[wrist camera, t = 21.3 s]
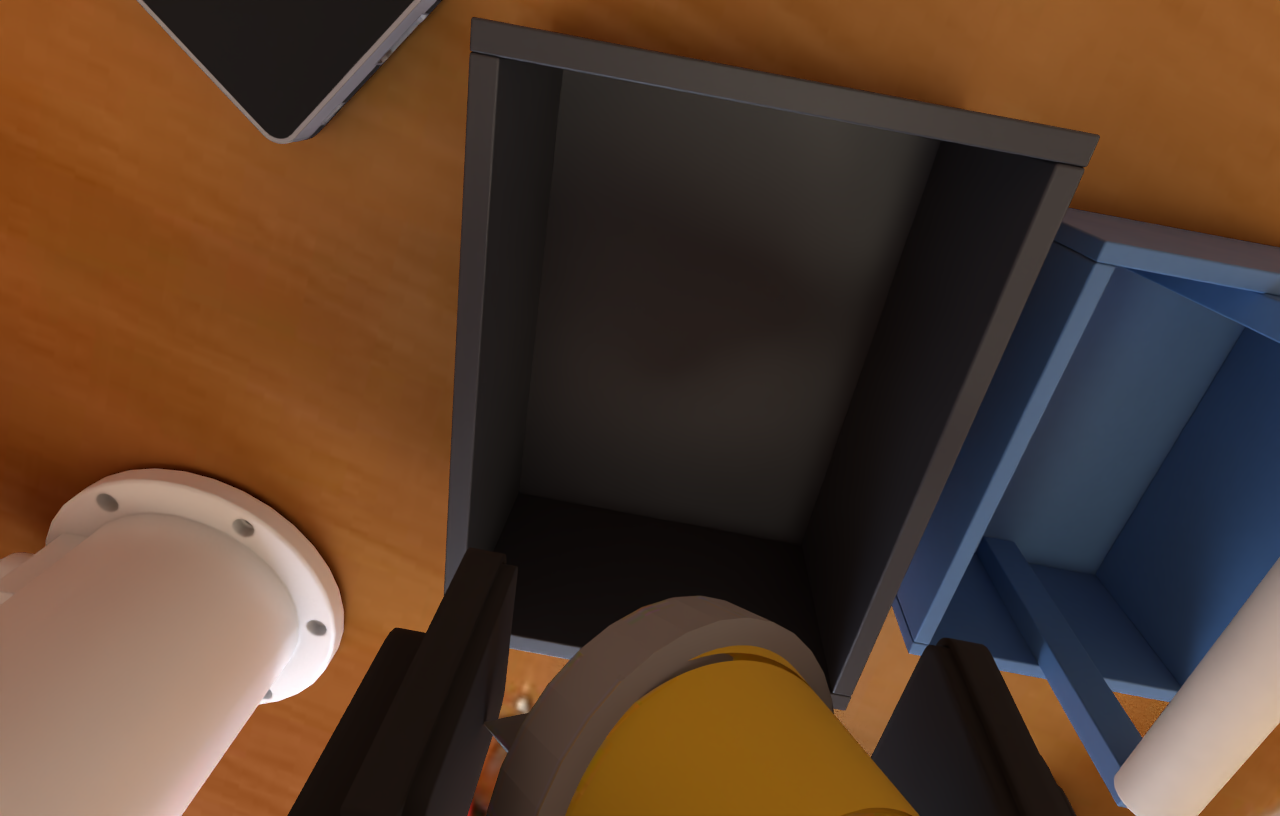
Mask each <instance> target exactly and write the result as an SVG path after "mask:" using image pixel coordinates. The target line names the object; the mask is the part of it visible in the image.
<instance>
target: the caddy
mask: <svg viewBox="0 0 1280 816" xmlns="http://www.w3.org/2000/svg"><path fill="white" fill-rule="evenodd" d="M892 607H893V610H894V613H895V616H896V619H897V622H898V625H899V627H900V630H901V633H902V636H903V639H904V642H905V645H906V647H907V650H908V653H910V654H914V655H920V656H921V655H922V653H923V651H924V650H925V648H926V647H927V646H928V645H935V646H936V644H937V643H938V641H939V640H940V639H942V638H952V639H957V640H963V641H968V642H973V643H978V644H983V645H984V646H986V647H987V648H988V650H989V651H990V653H991V654H992V656H993V658H994V661H995V663H996V665H997V667H998V669H999V670H1000V671H1006V672H1011V673H1017V674H1022V675H1027V676H1033V677H1038V678H1043V679H1047V681H1048V682H1049V684H1050V686H1051V688H1052V690H1053V691H1054V693H1055V695H1056V697H1057V699H1058V700H1059V702H1060V704H1061V706H1062V707H1063V709H1064V711H1065V713H1066V715H1067V716H1068V718H1069V720H1070V722H1071V724H1072V725H1073V727H1074V729H1075V731H1076V733H1077V734H1078V736H1079V738H1080V740H1081V741H1082V743H1083V745H1084V747H1085V749H1086V750H1087V752H1088V754H1089V756H1090V758H1091V759H1092V761H1093V763H1094V765H1095V766H1096V768H1097V770H1098V772H1099V774H1100V775H1101V777H1102V779H1103V781H1104V783H1105V784H1106V786H1107V788H1108V790H1109V791H1110V793H1111V795H1112V797H1113V799H1114V800H1115V802H1116V804H1117V805H1118V806H1119V807H1125V808H1128V809H1129V810H1130V811H1131V812H1132V813H1134V814H1135V815H1136V816H1198V815H1199V814H1200V813H1201V811H1202V810H1203V809H1204V808H1205V807H1206V806H1207V805H1208V803H1209V802H1210V801H1211V800H1212V799H1213V798H1214V797H1215V796H1216V794H1217V793H1218V792H1219V791H1220V790H1221V789H1222V788H1223V786H1224V785H1225V784H1226V783H1227V782H1228V781H1229V780H1230V778H1231V777H1232V776H1233V775H1234V774H1235V773H1236V772H1237V770H1238V769H1239V768H1240V767H1241V766H1242V765H1243V764H1244V763H1245V761H1246V760H1247V759H1248V758H1249V757H1250V756H1251V755H1252V753H1253V752H1254V751H1255V750H1256V749H1257V748H1258V747H1259V745H1260V744H1261V743H1262V742H1263V741H1264V740H1265V739H1266V737H1267V736H1268V735H1269V734H1270V733H1271V732H1272V731H1273V730H1274V728H1275V727H1276V726H1277V725H1278V724H1279V723H1280V248H1279V247H1274V246H1269V245H1263V244H1258V243H1253V242H1247V241H1242V240H1237V239H1231V238H1226V237H1221V236H1216V235H1210V234H1205V233H1200V232H1194V231H1189V230H1184V229H1178V228H1173V227H1168V226H1162V225H1157V224H1152V223H1147V222H1141V221H1136V220H1131V219H1125V218H1120V217H1115V216H1109V215H1104V214H1099V213H1093V212H1088V211H1083V210H1078V209H1072V208H1068V209H1067V211H1066V214H1065V216H1064V218H1063V220H1062V223H1061V225H1060V227H1059V229H1058V232H1057V234H1056V236H1055V238H1054V241H1053V243H1052V245H1051V247H1050V250H1049V252H1048V254H1047V256H1046V259H1045V261H1044V263H1043V266H1042V268H1041V270H1040V272H1039V275H1038V277H1037V279H1036V281H1035V284H1034V286H1033V288H1032V290H1031V293H1030V295H1029V297H1028V299H1027V302H1026V304H1025V306H1024V308H1023V311H1022V313H1021V315H1020V317H1019V320H1018V322H1017V324H1016V326H1015V329H1014V331H1013V333H1012V335H1011V338H1010V340H1009V342H1008V344H1007V347H1006V349H1005V351H1004V353H1003V356H1002V358H1001V360H1000V362H999V365H998V367H997V369H996V371H995V374H994V376H993V378H992V380H991V383H990V385H989V387H988V389H987V392H986V394H985V396H984V398H983V401H982V403H981V405H980V407H979V410H978V412H977V414H976V416H975V419H974V421H973V423H972V425H971V428H970V430H969V432H968V434H967V437H966V439H965V441H964V443H963V446H962V448H961V450H960V452H959V455H958V457H957V459H956V461H955V464H954V466H953V468H952V471H951V473H950V475H949V477H948V480H947V482H946V484H945V486H944V489H943V491H942V493H941V495H940V498H939V500H938V502H937V504H936V507H935V509H934V511H933V513H932V516H931V518H930V520H929V522H928V525H927V527H926V529H925V531H924V534H923V536H922V538H921V540H920V543H919V545H918V547H917V549H916V552H915V554H914V556H913V558H912V561H911V563H910V565H909V567H908V570H907V572H906V574H905V576H904V579H903V581H902V583H901V585H900V588H899V590H898V592H897V594H896V597H895V599H894V601H893V603H892ZM1112 691H1113V692H1119V693H1124V694H1129V695H1135V696H1140V697H1145V698H1151V699H1156V700H1161V701H1167V702H1170V703H1169V704H1168V705H1167V707H1166V708H1165V709H1164V711H1163V712H1162V713H1161V715H1160V716H1159V717H1158V719H1157V720H1156V721H1155V723H1154V724H1153V725H1152V727H1151V728H1150V729H1149V731H1148V732H1147V733H1146V735H1145V736H1144V737H1143V738H1142V737H1141V735H1140V734H1139V732H1138V731H1137V729H1136V728H1135V726H1134V724H1133V723H1132V721H1131V720H1130V718H1129V717H1128V715H1127V714H1126V712H1125V711H1124V709H1123V708H1122V706H1121V705H1120V703H1119V701H1118V700H1117V698H1116V697H1115V695H1114V694H1113V692H1112Z"/></svg>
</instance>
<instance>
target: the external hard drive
mask: <svg viewBox="0 0 1280 816" xmlns="http://www.w3.org/2000/svg"><path fill="white" fill-rule="evenodd" d="M137 1H138V2H139V3H140V5H141V6H142V7H143V8H144V9H145V10H146V11H147V12H148V13H149V14H150V15H151V16H152V17H153V18H154V19H155V21H156V22H157V23H158V24H159V25H160V26H161V27H162V28H163V29H164V30H165V31H166V32H167V33H168V34H169V35H170V36H171V38H172V39H173V40H174V41H175V42H176V43H177V44H178V45H179V46H180V47H181V48H182V49H183V50H184V51H185V52H186V53H187V55H188V56H189V57H190V58H191V59H192V60H193V61H194V62H195V63H196V64H197V65H198V66H199V67H200V68H201V69H202V70H203V72H204V73H205V74H206V75H207V76H208V77H209V78H210V79H211V80H212V81H213V82H214V83H215V84H216V85H217V86H218V88H219V89H220V90H221V91H222V92H223V93H224V94H225V95H226V96H227V97H228V98H229V99H230V100H231V101H232V102H233V103H234V105H235V106H236V107H237V108H238V109H239V110H240V111H241V112H242V113H243V114H244V115H245V116H246V117H247V118H248V119H249V120H250V122H251V123H252V124H253V125H254V126H255V127H256V128H257V129H258V130H259V131H260V132H261V133H262V134H263V135H264V136H265V137H266V138H267V139H269V140H271V141H272V142H275V143H279V144H286V143H291V142H296V141H302V140H307V139H310V138H312V137H314V136H315V135H317V134H318V133H319V132H320V131H321V130H322V129H323V128H324V127H325V125H326V124H327V123H328V122H329V121H330V120H331V119H332V118H333V117H334V116H335V115H336V114H337V113H338V112H339V110H340V109H341V108H342V107H343V106H344V105H345V104H346V103H347V102H348V101H349V100H350V99H351V98H352V96H353V95H354V94H355V93H356V92H357V91H358V90H359V89H360V88H361V87H362V86H363V85H364V84H365V83H366V81H367V80H368V79H369V78H370V77H371V76H372V75H373V74H374V73H375V72H376V71H377V70H378V69H379V68H380V66H381V65H382V64H383V63H384V62H385V61H386V60H387V59H388V58H389V56H390V55H391V54H392V53H393V52H394V51H395V50H396V48H397V47H398V46H399V45H400V44H401V43H402V42H403V41H404V40H405V39H406V38H407V37H408V36H409V35H410V33H411V32H412V31H413V30H414V29H415V28H416V27H417V26H418V25H419V24H420V23H421V22H422V21H423V20H424V19H425V18H426V17H427V16H428V15H429V14H430V13H431V12H432V11H433V10H434V9H435V7H436V6H437V5H438V4H439V3H440V2H441V1H442V0H137Z"/></svg>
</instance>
